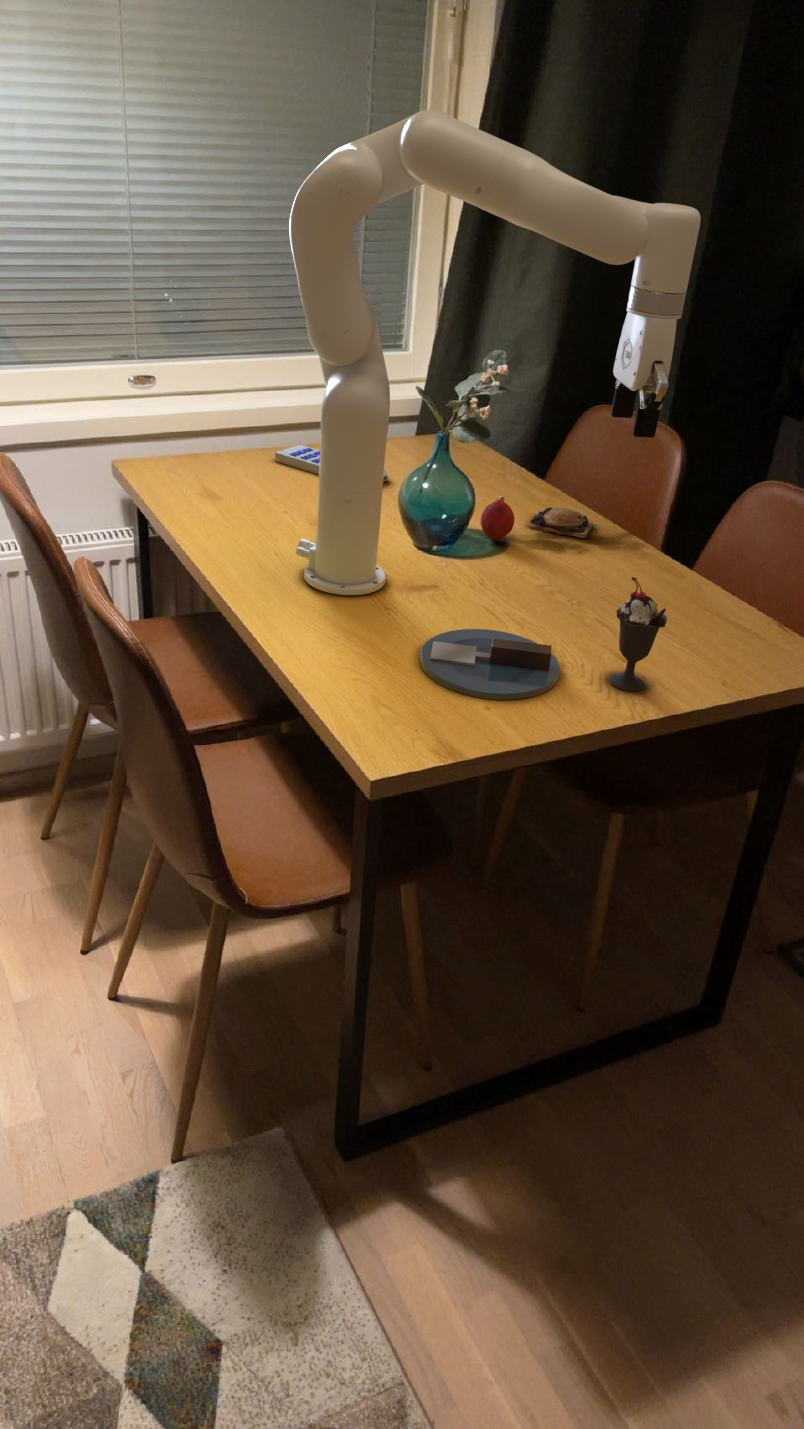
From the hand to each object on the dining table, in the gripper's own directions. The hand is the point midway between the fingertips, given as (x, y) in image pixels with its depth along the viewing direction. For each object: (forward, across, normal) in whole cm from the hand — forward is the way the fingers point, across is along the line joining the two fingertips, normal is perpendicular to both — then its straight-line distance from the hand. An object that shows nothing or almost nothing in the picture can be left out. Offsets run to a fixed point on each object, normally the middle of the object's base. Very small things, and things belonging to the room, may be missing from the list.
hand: (631, 426), depth 162 cm
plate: (+28, +22, -23) cm, 42 cm away
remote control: (+28, -60, -36) cm, 75 cm away
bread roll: (+28, -32, +3) cm, 43 cm away
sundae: (+28, +27, -4) cm, 39 cm away
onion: (+28, -24, -11) cm, 39 cm away
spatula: (+27, +22, -23) cm, 41 cm away
